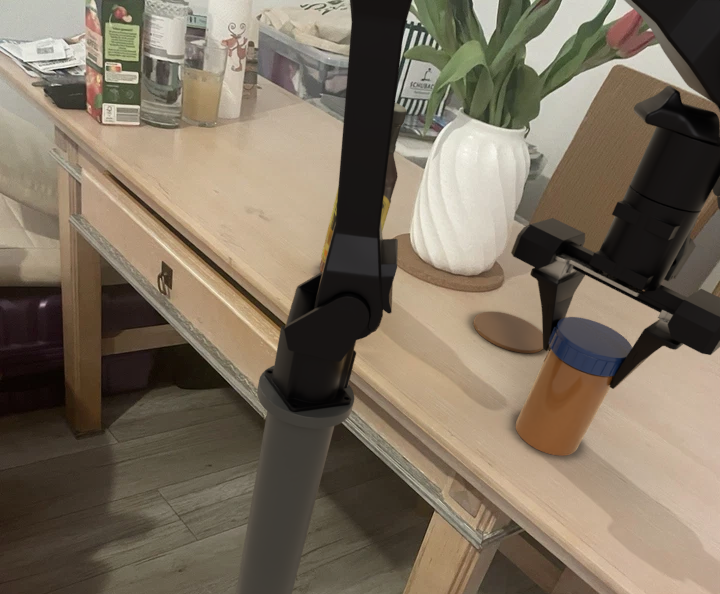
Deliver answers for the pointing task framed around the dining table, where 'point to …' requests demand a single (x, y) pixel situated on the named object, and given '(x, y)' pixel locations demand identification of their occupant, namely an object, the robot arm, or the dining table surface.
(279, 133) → the dining table surface
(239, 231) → the dining table surface
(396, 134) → the sauce bottle
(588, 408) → the jar
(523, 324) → the coaster
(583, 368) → the lid
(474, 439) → the dining table surface
